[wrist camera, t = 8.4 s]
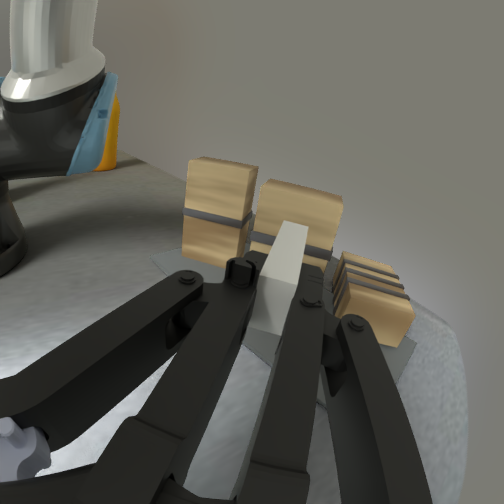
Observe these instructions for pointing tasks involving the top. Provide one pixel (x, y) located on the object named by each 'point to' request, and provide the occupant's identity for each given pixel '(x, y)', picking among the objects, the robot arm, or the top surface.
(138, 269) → the top surface
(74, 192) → the top surface
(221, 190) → the banded wooden block
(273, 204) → the wooden block
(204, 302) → the robot arm
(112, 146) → the beer bottle
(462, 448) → the top surface
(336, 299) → the striped wooden block
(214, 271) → the mat
